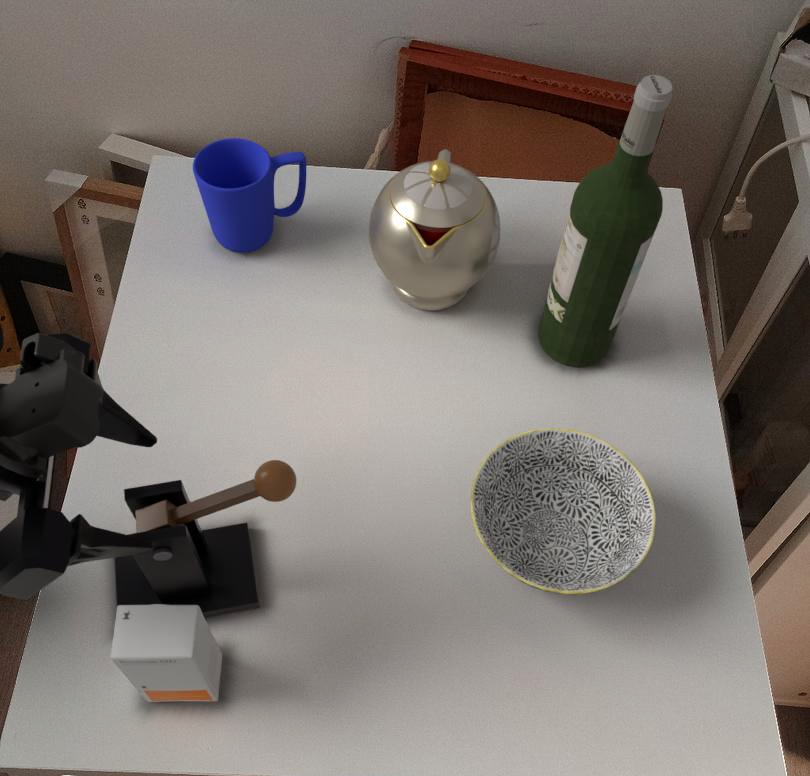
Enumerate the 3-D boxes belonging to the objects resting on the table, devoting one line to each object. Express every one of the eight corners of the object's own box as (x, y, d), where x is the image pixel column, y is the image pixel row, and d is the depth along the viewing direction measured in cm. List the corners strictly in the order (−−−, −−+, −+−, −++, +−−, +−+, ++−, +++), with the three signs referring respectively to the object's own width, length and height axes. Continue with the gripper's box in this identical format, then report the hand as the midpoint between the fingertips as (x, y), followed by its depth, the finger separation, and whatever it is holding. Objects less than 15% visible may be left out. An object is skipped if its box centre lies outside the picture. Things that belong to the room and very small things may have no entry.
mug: (321, 243, 95) (316, 171, 86) (219, 269, 93) (203, 198, 84) (299, 196, 99) (292, 122, 90) (200, 220, 96) (183, 147, 88)
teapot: (484, 343, 89) (506, 225, 74) (359, 327, 89) (357, 207, 75) (497, 225, 98) (518, 100, 83) (383, 211, 98) (385, 84, 84)
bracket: (248, 528, 77) (227, 455, 66) (259, 607, 73) (239, 544, 62) (117, 550, 75) (72, 480, 64) (121, 633, 72) (75, 573, 60)
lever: (299, 465, 65) (282, 447, 62) (306, 500, 63) (288, 483, 61) (154, 518, 67) (131, 502, 64) (157, 553, 66) (133, 539, 63)
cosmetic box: (147, 704, 69) (106, 659, 58) (153, 654, 71) (115, 602, 60) (220, 703, 69) (193, 658, 58) (225, 654, 71) (199, 601, 61)
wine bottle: (534, 310, 91) (599, 51, 65) (605, 312, 91) (698, 54, 65) (539, 367, 87) (611, 116, 61) (613, 369, 88) (716, 120, 61)
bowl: (653, 613, 74) (680, 579, 68) (479, 635, 73) (490, 603, 66) (607, 462, 82) (627, 419, 75) (449, 479, 80) (456, 436, 74)
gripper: (-37, 501, 43) (214, 569, 54) (8, 243, 52) (215, 344, 63) (-115, 575, 49) (123, 622, 60) (-63, 333, 58) (136, 411, 69)
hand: (152, 493), depth 63 cm, fingers open, 9 cm apart
